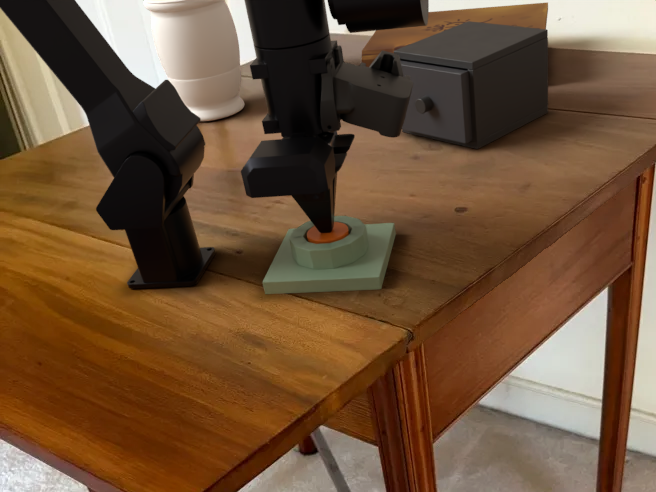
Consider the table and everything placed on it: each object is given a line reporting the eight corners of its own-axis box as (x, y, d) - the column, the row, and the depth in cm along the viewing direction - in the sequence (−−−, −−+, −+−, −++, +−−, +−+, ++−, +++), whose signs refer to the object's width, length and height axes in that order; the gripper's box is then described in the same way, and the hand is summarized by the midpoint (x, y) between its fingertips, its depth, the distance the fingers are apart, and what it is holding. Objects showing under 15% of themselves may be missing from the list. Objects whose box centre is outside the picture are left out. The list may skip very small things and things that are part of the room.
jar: (264, 98, 114) (239, -22, 105) (233, 124, 106) (203, -2, 97) (196, 100, 117) (166, -16, 108) (161, 126, 109) (126, 4, 100)
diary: (366, 98, 108) (360, 52, 105) (391, 57, 122) (386, 15, 119) (544, 86, 103) (543, 37, 100) (548, 44, 118) (548, 0, 114)
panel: (381, 289, 68) (376, 257, 66) (265, 294, 69) (257, 262, 68) (396, 234, 75) (392, 203, 74) (291, 240, 77) (284, 210, 75)
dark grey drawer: (458, 147, 88) (453, 77, 84) (390, 132, 94) (382, 66, 90) (531, 110, 94) (530, 43, 90) (463, 97, 101) (459, 34, 96)
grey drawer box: (477, 149, 89) (472, 62, 84) (402, 132, 97) (393, 50, 91) (548, 112, 96) (547, 29, 90) (472, 98, 103) (468, 20, 97)
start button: (347, 258, 70) (344, 239, 69) (306, 260, 71) (302, 241, 69) (354, 238, 73) (351, 220, 72) (314, 240, 73) (311, 222, 72)
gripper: (381, 66, 52) (407, 281, 62) (412, -2, 67) (429, 181, 76) (215, 81, 54) (266, 287, 64) (280, 11, 69) (313, 188, 78)
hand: (326, 231), depth 71 cm, fingers closed, pressing on start button
